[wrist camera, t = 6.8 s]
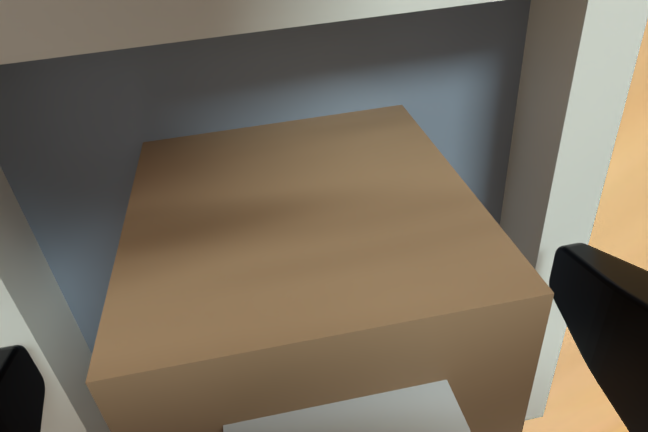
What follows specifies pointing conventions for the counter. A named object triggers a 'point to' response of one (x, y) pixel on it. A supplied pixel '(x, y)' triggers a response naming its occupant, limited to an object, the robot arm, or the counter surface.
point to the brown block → (314, 288)
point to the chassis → (280, 106)
